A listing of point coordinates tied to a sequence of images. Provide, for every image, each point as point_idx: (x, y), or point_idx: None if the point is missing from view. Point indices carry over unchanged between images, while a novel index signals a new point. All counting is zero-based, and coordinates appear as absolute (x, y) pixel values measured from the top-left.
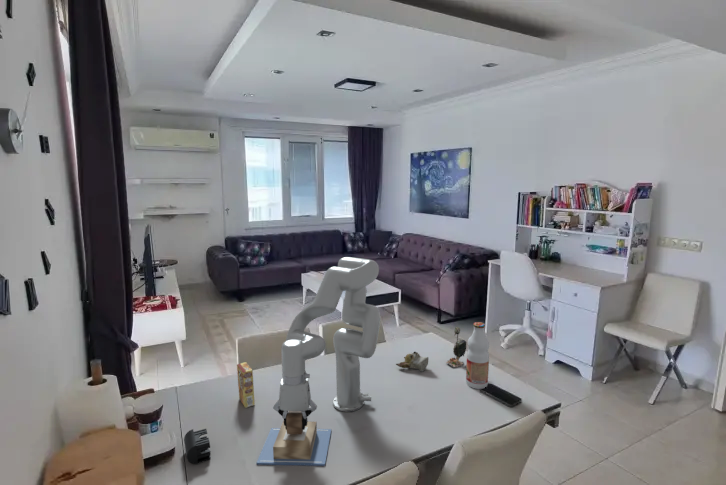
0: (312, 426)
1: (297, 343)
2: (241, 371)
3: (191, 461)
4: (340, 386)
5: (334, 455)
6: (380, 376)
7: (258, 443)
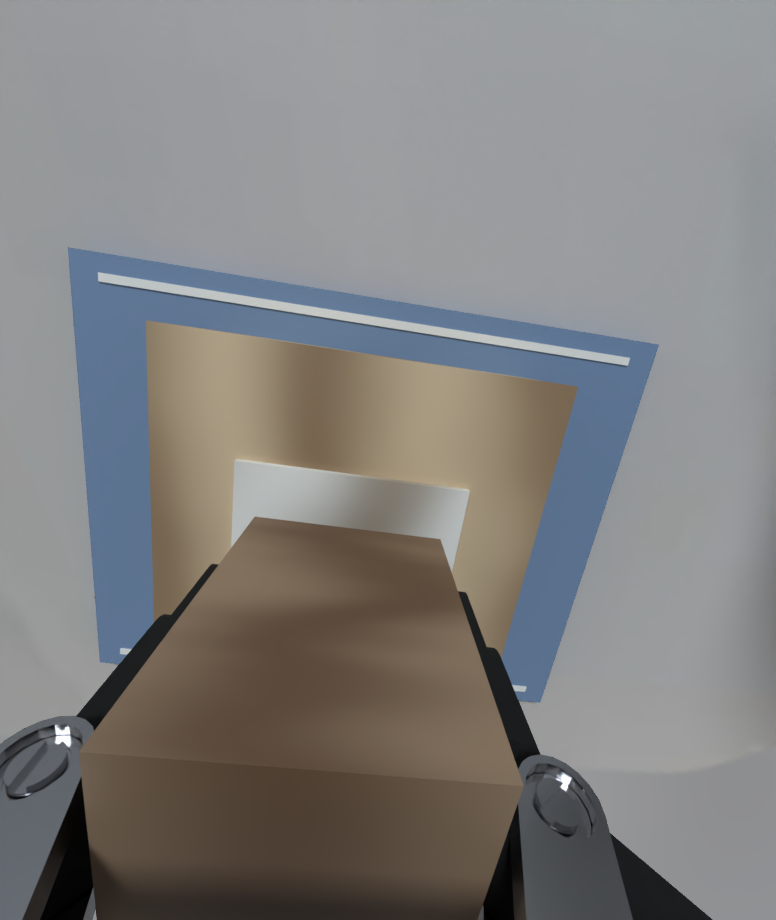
0: (521, 474)
1: None
2: None
3: None
4: None
5: (608, 619)
6: None
7: (35, 446)
